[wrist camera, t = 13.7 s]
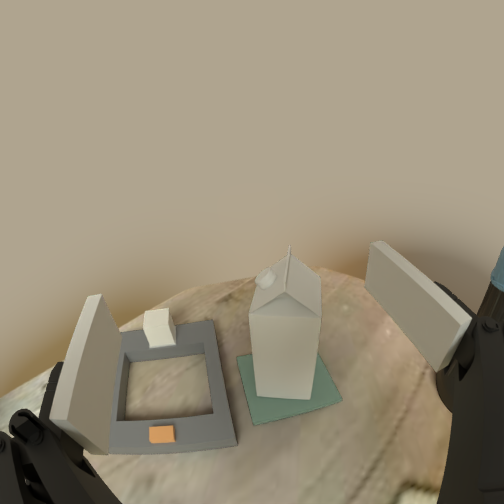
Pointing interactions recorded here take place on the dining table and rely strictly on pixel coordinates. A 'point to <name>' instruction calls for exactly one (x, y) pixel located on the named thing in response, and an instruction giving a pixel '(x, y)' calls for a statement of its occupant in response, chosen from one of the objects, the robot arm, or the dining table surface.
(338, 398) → the felt pad
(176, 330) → the grey open frame
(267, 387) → the milk carton
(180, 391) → the dining table surface
